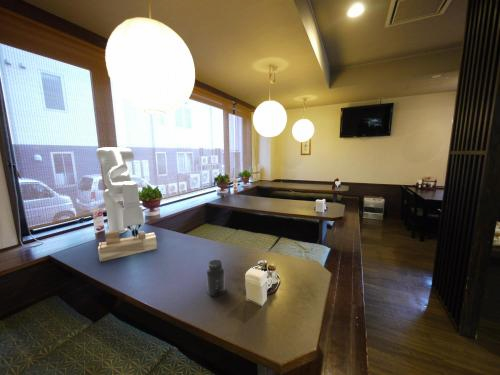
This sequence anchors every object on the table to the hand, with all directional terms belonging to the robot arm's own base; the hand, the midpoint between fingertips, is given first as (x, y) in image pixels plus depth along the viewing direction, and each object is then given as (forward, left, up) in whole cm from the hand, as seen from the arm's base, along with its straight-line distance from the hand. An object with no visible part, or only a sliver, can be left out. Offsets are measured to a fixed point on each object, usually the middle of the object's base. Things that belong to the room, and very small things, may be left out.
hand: (135, 236), depth 115 cm
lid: (0, -6, -2) cm, 7 cm away
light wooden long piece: (0, -3, -8) cm, 9 cm away
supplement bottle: (+59, +24, -9) cm, 64 cm away
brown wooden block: (0, +3, -1) cm, 3 cm away
